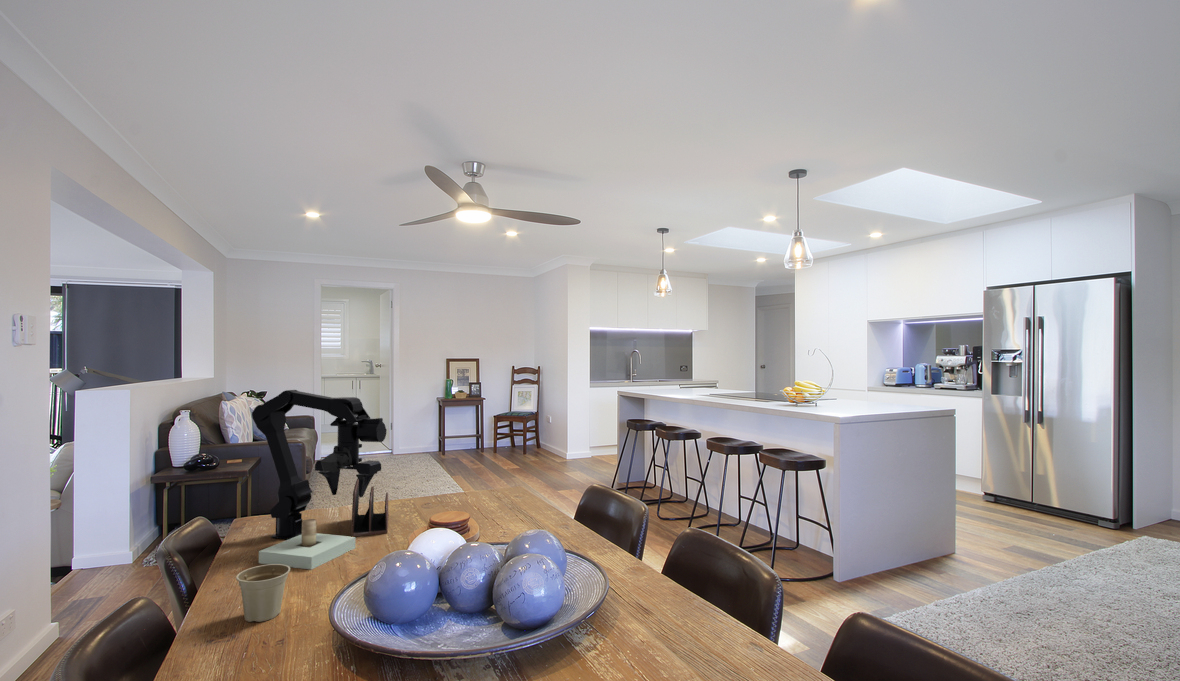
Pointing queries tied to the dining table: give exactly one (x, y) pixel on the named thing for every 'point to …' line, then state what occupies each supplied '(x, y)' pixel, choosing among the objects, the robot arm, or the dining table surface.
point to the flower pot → (262, 591)
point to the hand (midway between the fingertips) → (347, 496)
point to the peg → (308, 533)
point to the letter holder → (368, 516)
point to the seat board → (307, 551)
